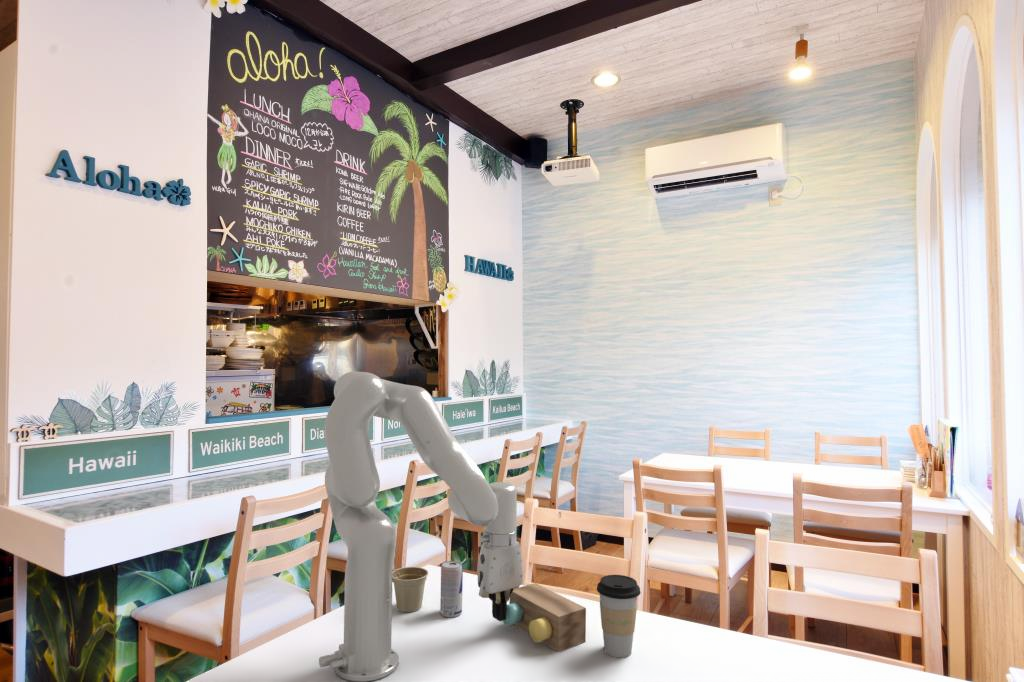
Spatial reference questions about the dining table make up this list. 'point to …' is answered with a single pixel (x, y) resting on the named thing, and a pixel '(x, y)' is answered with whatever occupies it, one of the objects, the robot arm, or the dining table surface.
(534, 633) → the knob
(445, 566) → the energy drink
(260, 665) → the dining table surface
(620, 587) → the coffee cup
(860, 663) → the dining table surface
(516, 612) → the knob
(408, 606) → the flower pot
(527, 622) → the block
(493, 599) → the robot arm
